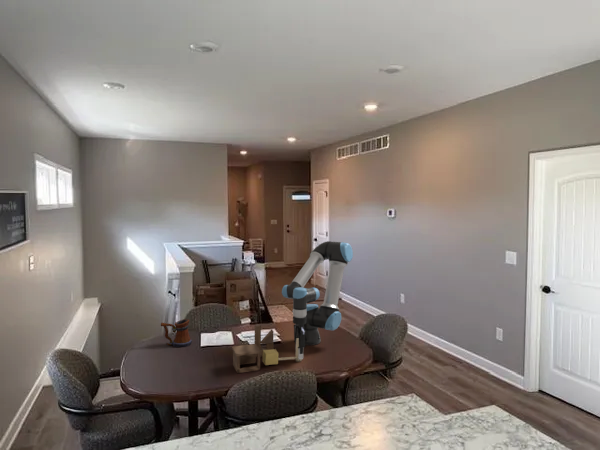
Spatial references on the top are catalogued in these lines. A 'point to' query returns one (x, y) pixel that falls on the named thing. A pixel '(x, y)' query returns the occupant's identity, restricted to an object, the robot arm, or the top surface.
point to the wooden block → (266, 340)
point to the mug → (179, 333)
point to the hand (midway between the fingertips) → (299, 357)
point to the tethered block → (272, 355)
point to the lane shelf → (246, 357)
